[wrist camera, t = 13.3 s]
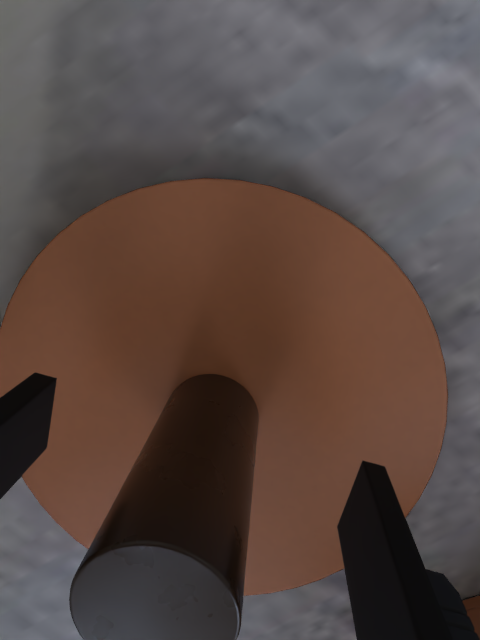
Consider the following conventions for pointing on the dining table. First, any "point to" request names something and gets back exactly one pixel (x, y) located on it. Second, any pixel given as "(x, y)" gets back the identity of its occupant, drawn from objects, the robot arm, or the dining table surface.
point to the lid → (217, 397)
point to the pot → (473, 612)
